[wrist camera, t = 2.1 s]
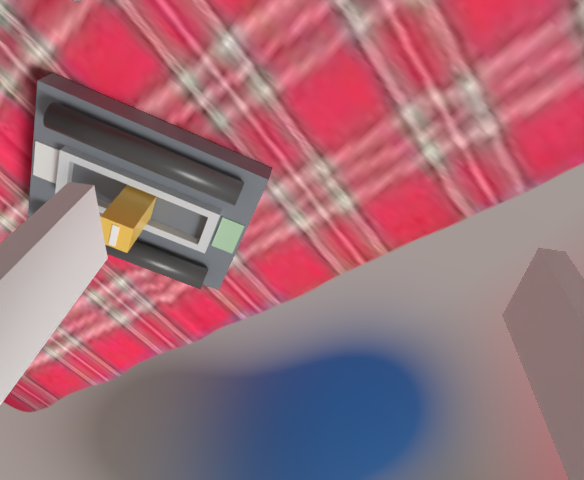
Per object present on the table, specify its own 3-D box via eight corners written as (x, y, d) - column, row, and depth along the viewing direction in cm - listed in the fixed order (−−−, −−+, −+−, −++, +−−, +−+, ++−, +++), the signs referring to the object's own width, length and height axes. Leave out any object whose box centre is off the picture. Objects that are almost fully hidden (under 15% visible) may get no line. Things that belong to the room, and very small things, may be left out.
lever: (122, 206, 45) (95, 241, 40) (127, 183, 43) (99, 216, 38) (150, 218, 46) (126, 253, 41) (157, 195, 44) (132, 229, 39)
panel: (41, 205, 50) (14, 230, 46) (52, 72, 40) (20, 88, 37) (223, 276, 53) (213, 304, 49) (272, 168, 44) (264, 192, 40)
